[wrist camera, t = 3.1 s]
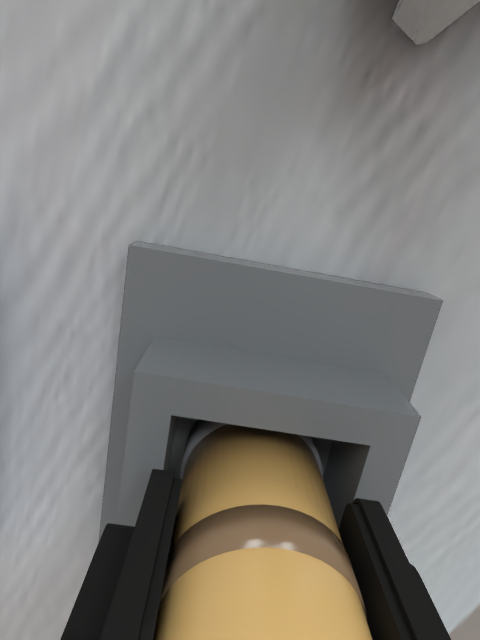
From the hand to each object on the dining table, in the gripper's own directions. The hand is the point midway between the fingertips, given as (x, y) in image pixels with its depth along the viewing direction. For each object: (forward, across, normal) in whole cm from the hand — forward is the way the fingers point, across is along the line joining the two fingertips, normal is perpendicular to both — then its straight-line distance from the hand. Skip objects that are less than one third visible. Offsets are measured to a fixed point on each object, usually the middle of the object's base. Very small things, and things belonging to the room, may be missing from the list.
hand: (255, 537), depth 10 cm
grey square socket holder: (+4, 0, 0) cm, 4 cm away
